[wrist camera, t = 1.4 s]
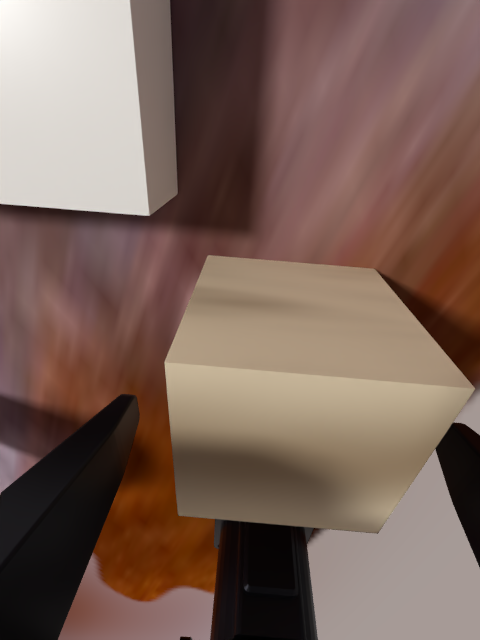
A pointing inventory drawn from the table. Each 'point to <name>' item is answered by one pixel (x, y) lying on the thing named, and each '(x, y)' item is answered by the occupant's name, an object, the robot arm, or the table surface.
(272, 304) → the maple cube
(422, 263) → the table surface
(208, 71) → the table surface
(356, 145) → the table surface
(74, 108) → the plinth
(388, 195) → the table surface
